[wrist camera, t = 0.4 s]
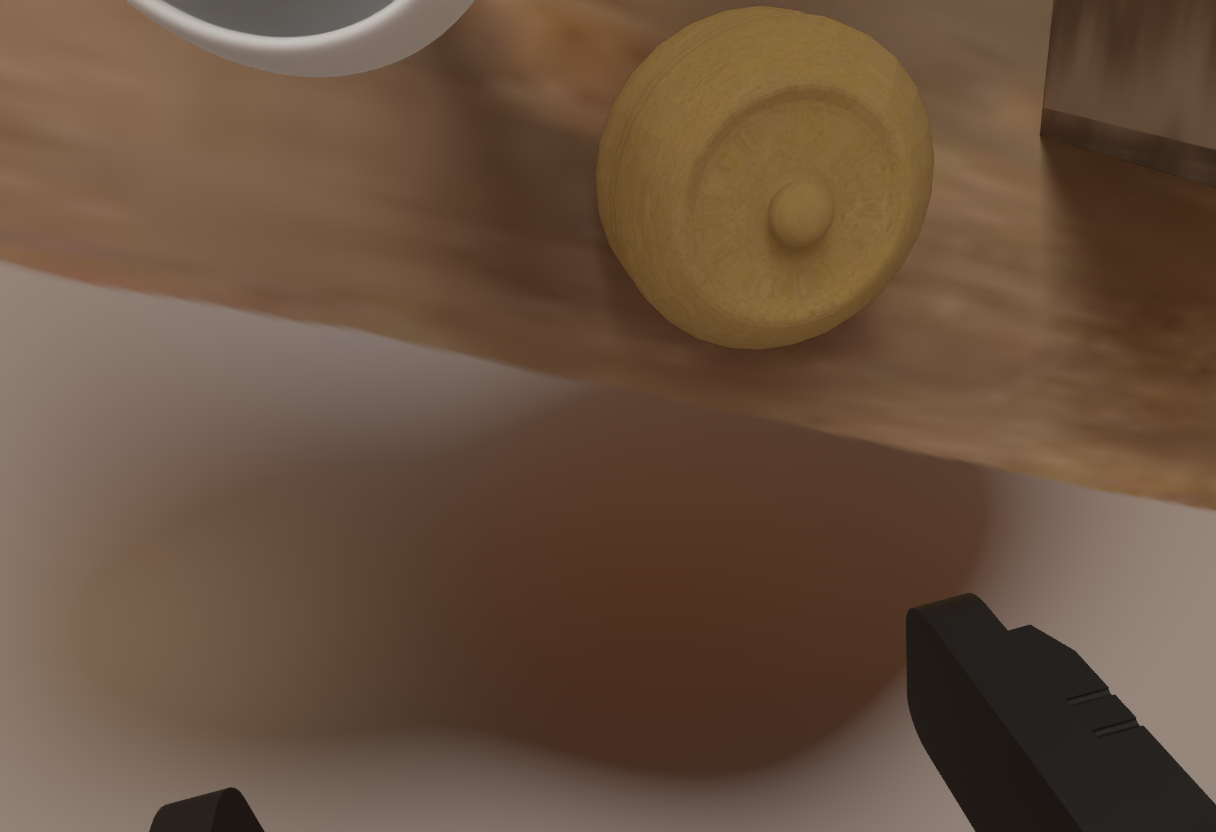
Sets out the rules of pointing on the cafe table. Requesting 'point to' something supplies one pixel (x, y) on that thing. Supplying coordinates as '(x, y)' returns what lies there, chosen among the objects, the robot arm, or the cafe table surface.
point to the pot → (764, 175)
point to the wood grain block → (1135, 82)
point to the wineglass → (307, 31)
